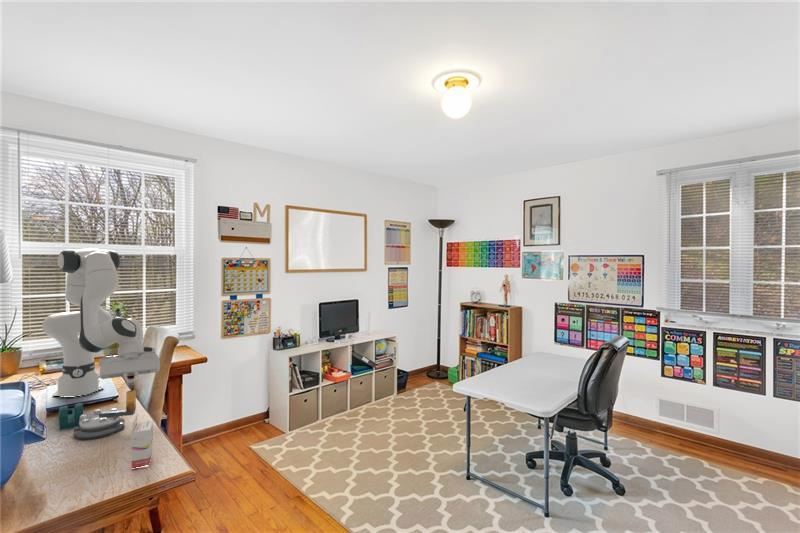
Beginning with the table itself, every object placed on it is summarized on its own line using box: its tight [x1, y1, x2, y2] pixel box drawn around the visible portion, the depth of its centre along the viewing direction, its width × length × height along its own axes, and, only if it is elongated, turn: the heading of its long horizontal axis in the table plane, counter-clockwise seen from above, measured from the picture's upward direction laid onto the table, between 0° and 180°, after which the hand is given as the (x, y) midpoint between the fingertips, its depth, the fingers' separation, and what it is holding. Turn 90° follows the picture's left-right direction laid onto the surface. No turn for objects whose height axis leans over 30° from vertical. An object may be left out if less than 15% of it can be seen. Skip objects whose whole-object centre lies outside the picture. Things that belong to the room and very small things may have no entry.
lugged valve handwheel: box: [79, 389, 137, 432], centre depth 144 cm, size 18×12×12 cm
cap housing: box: [73, 417, 126, 441], centre depth 144 cm, size 15×15×2 cm
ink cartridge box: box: [131, 413, 154, 468], centre depth 122 cm, size 9×5×15 cm, turn 27°
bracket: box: [58, 402, 84, 431], centre depth 152 cm, size 18×7×8 cm, turn 43°
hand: (130, 384), depth 153 cm, fingers closed
